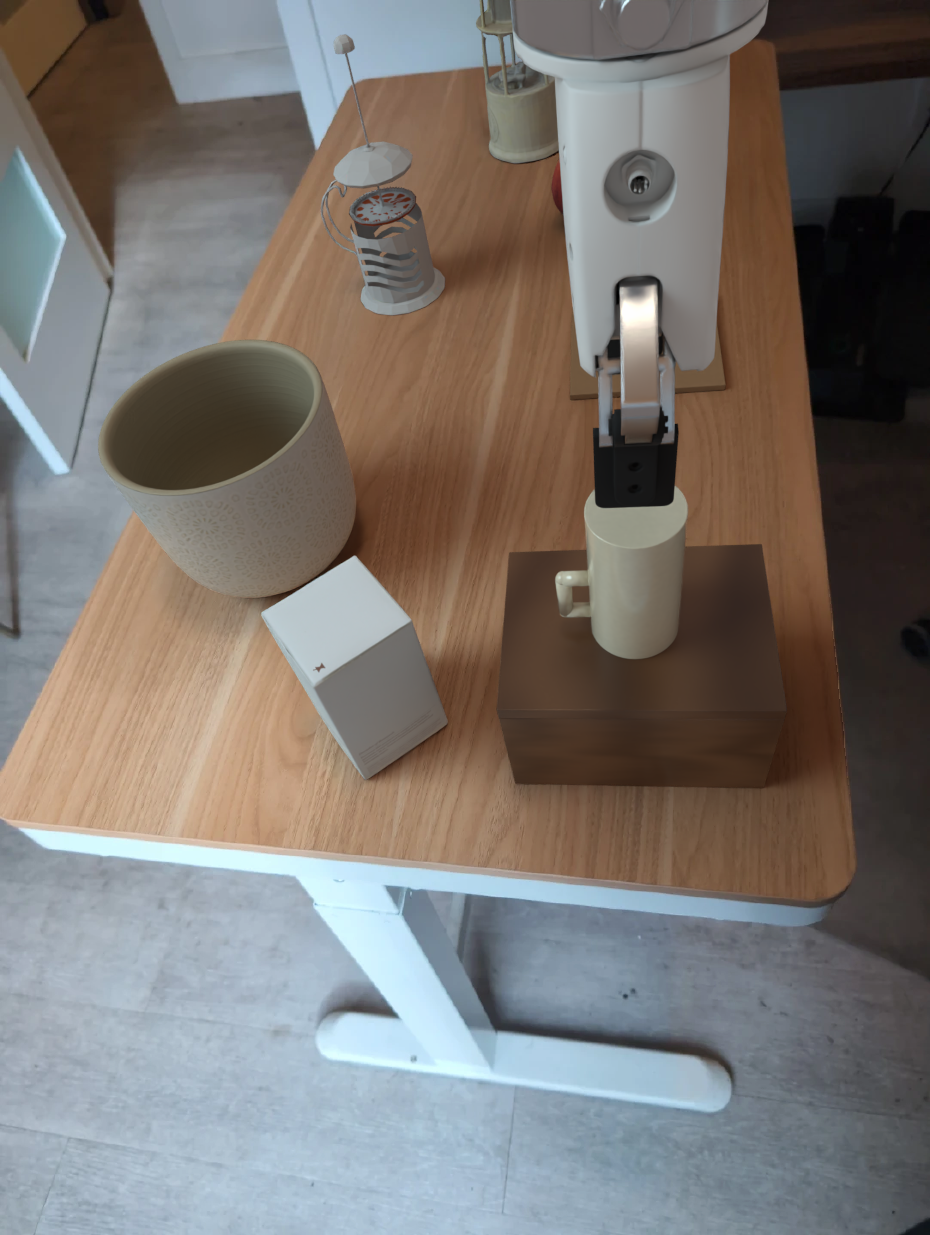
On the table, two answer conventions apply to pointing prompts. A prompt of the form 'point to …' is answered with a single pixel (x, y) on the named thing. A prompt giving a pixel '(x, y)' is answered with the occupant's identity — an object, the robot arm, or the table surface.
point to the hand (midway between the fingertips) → (630, 424)
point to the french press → (400, 272)
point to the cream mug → (630, 576)
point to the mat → (588, 385)
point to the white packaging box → (359, 665)
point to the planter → (235, 466)
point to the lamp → (516, 97)
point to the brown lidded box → (643, 681)
